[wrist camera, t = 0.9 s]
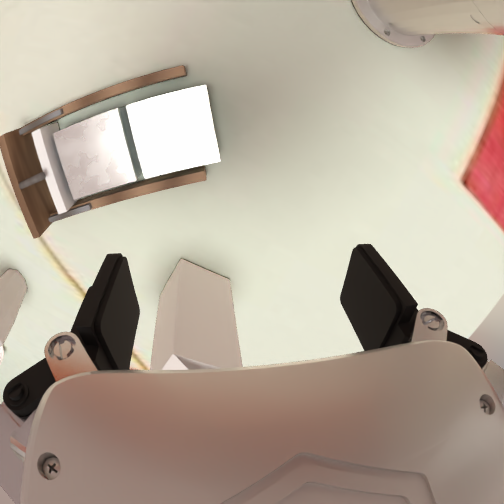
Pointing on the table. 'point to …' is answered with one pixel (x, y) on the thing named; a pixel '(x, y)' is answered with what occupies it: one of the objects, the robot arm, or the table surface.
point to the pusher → (53, 167)
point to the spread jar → (1, 354)
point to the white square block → (98, 153)
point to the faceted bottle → (10, 300)
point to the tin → (174, 131)
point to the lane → (33, 178)
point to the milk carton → (195, 322)
